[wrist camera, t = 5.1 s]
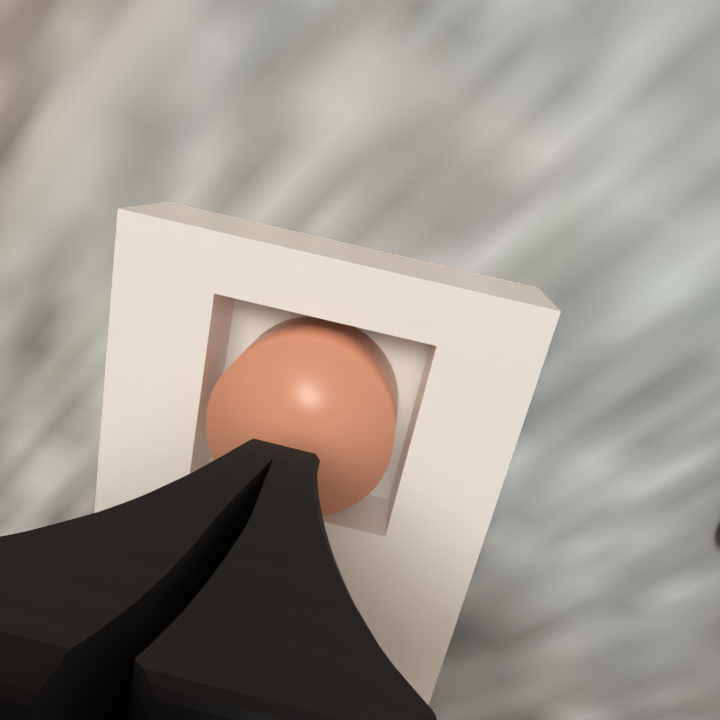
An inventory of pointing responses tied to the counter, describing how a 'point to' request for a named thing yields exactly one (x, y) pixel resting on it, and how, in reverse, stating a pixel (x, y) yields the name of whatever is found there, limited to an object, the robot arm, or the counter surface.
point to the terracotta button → (312, 404)
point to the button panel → (408, 360)
